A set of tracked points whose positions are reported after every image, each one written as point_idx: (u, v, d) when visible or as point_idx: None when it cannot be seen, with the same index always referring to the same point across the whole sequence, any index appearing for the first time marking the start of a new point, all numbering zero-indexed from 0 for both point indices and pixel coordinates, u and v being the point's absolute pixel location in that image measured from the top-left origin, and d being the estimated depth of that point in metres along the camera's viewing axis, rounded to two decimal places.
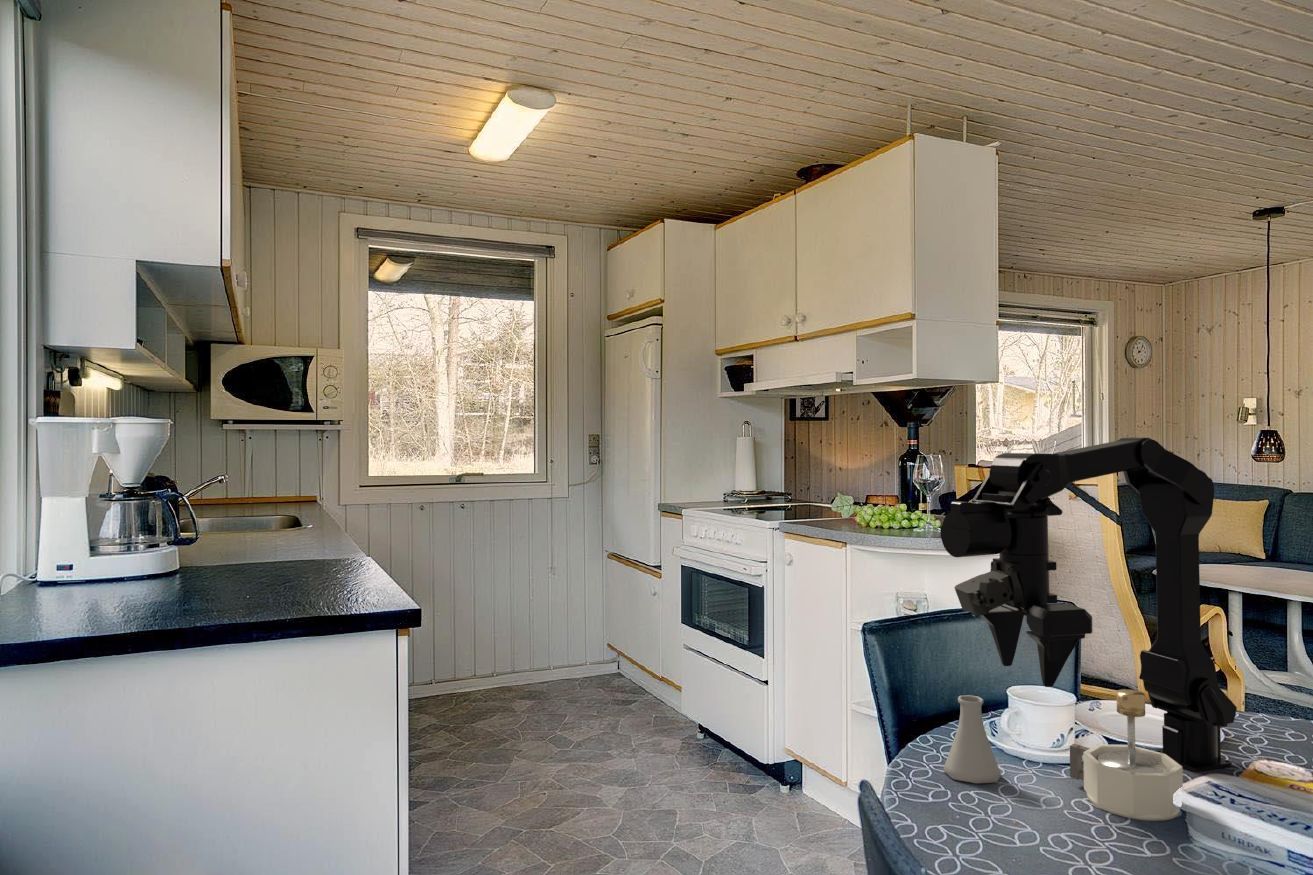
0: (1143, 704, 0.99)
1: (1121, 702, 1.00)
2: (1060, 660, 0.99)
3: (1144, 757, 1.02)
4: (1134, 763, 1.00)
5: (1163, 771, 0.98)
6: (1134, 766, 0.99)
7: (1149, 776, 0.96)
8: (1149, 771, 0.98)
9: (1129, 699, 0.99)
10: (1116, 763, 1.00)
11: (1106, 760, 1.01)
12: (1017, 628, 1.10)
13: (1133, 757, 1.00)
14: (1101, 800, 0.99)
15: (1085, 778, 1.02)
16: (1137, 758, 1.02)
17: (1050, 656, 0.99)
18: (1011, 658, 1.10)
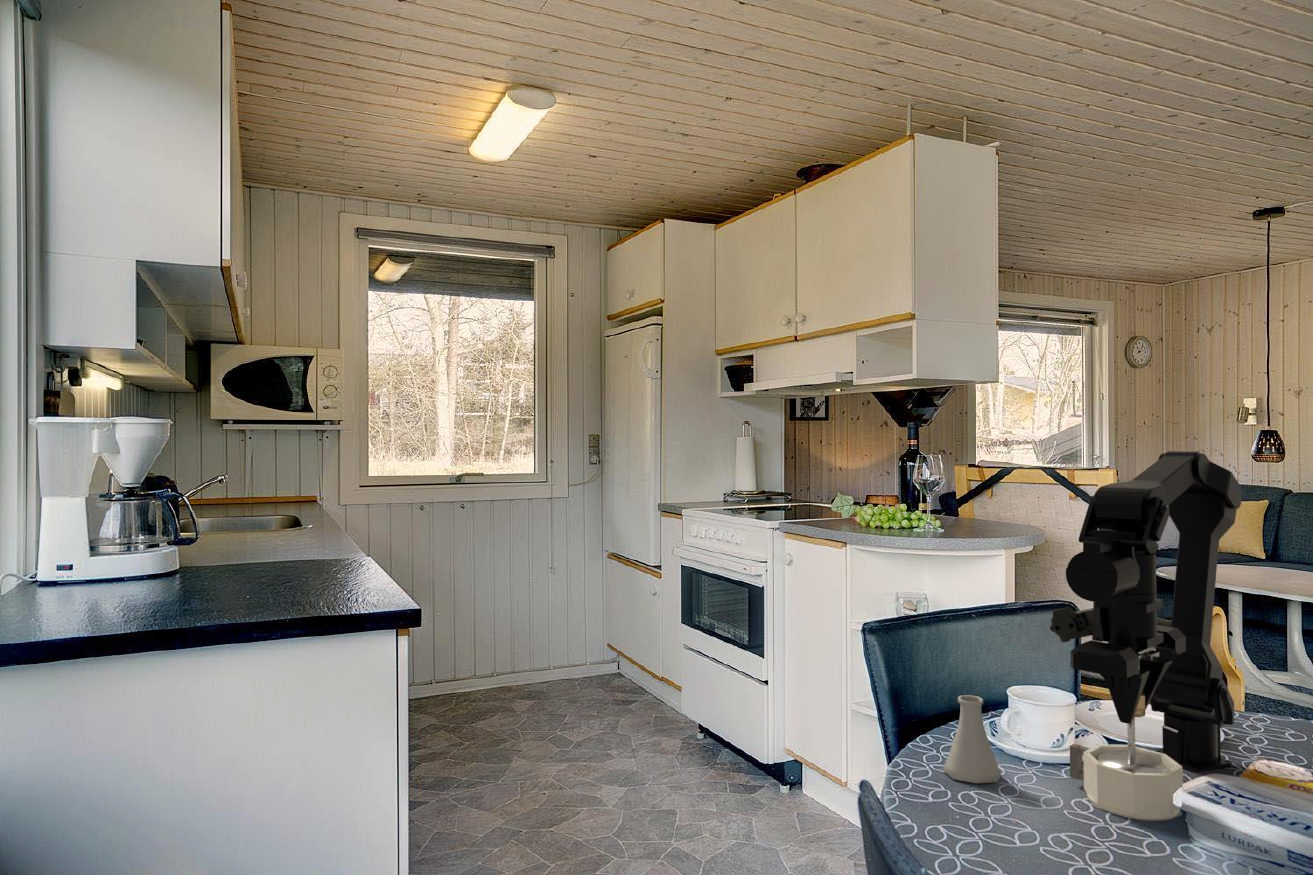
0: (1143, 704, 0.99)
1: None
2: (1129, 698, 0.98)
3: (1144, 757, 1.02)
4: (1134, 763, 1.00)
5: (1163, 771, 0.98)
6: (1134, 766, 0.99)
7: (1149, 776, 0.96)
8: (1149, 771, 0.98)
9: None
10: (1116, 763, 1.00)
11: (1106, 760, 1.01)
12: (1152, 680, 1.00)
13: (1133, 757, 1.00)
14: (1101, 800, 0.99)
15: (1085, 778, 1.02)
16: (1137, 758, 1.02)
17: (1117, 691, 0.99)
18: None
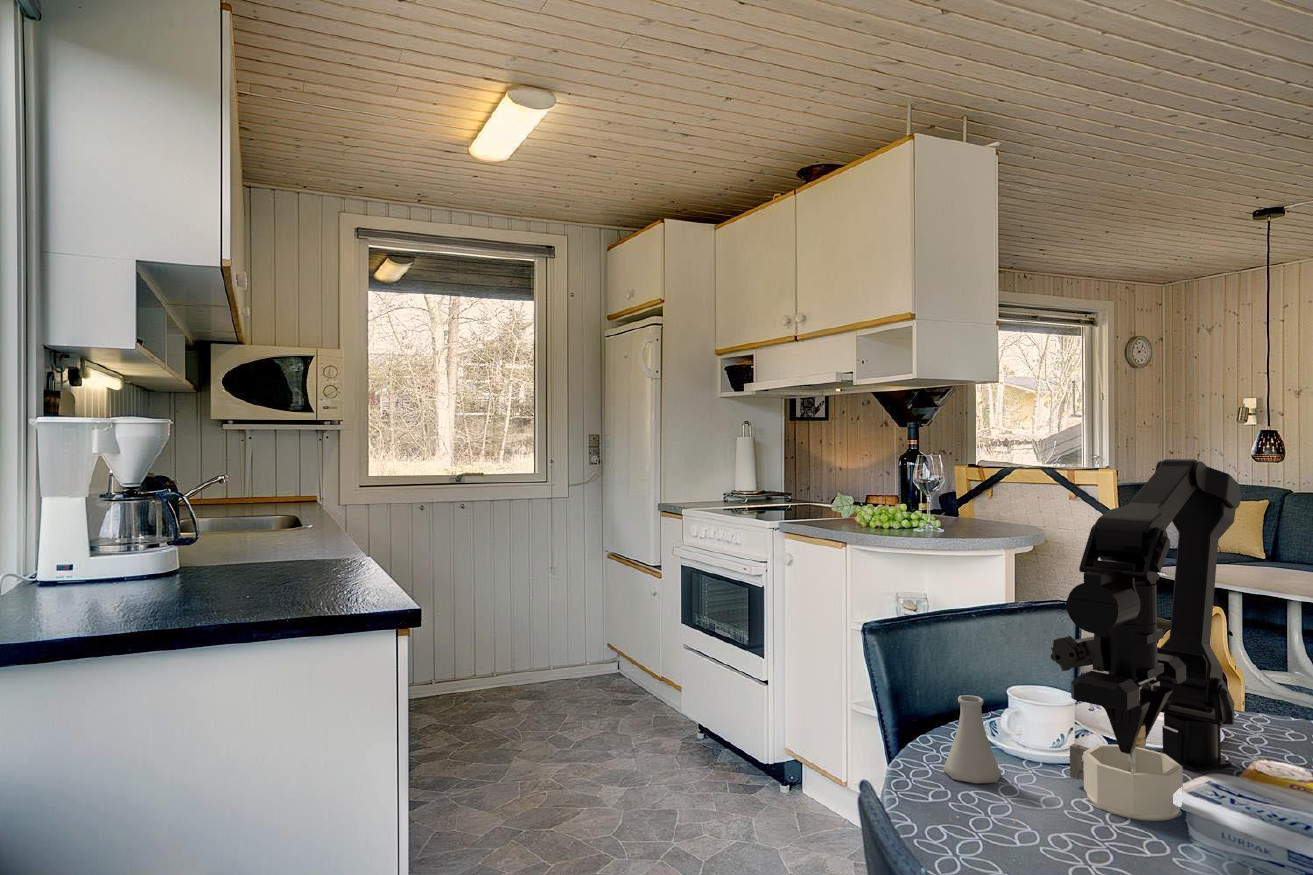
0: (1143, 734, 0.99)
1: None
2: (1129, 728, 0.98)
3: None
4: None
5: None
6: None
7: (1149, 776, 0.96)
8: None
9: None
10: None
11: None
12: (1152, 709, 1.00)
13: None
14: (1101, 800, 0.99)
15: (1085, 778, 1.02)
16: None
17: (1117, 721, 0.99)
18: None
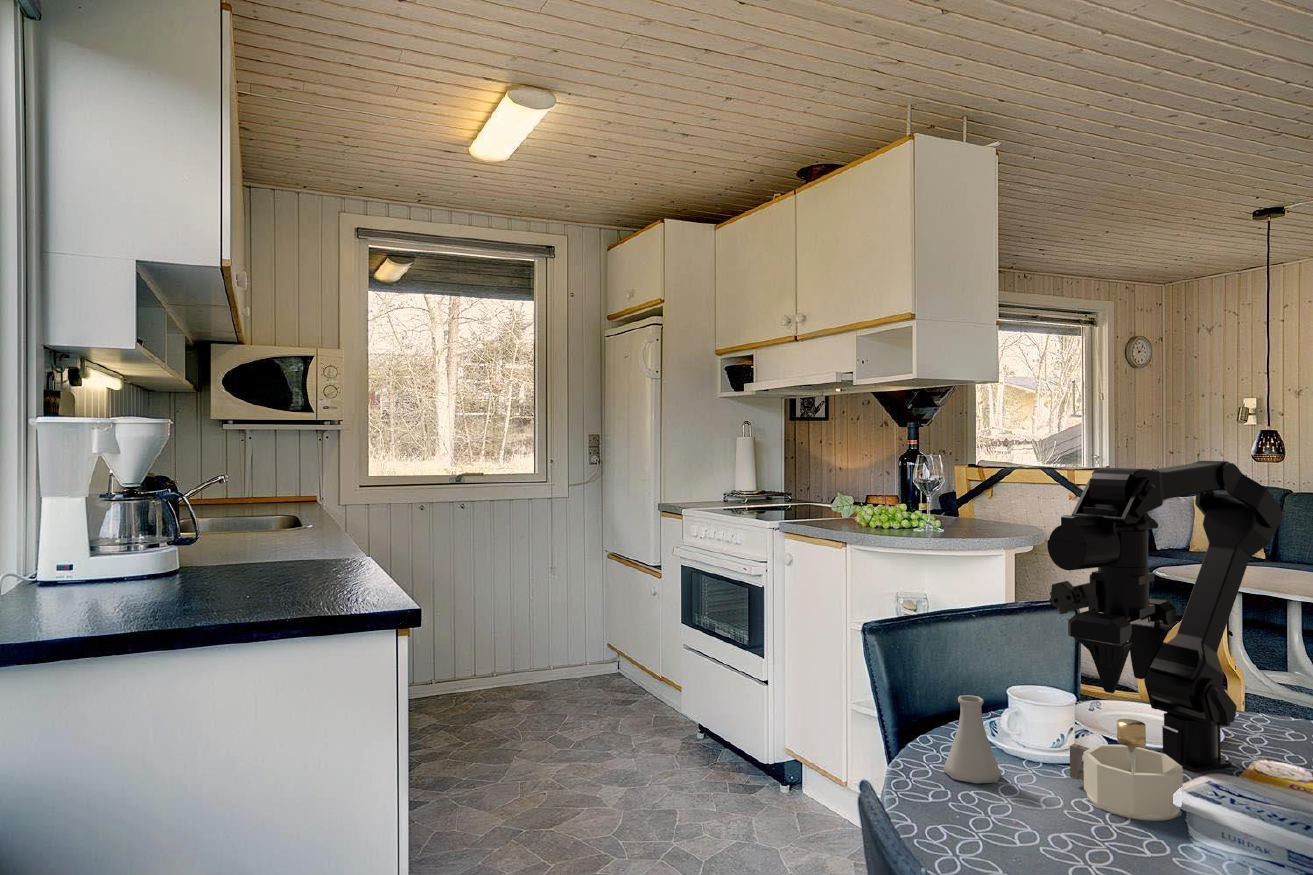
0: (1143, 734, 0.99)
1: (1121, 732, 1.00)
2: (1112, 668, 1.03)
3: None
4: None
5: None
6: None
7: (1149, 776, 0.96)
8: None
9: (1130, 729, 0.99)
10: None
11: None
12: (1153, 644, 1.09)
13: None
14: (1101, 800, 0.99)
15: (1085, 778, 1.02)
16: None
17: (1101, 662, 1.04)
18: (1142, 672, 1.10)
